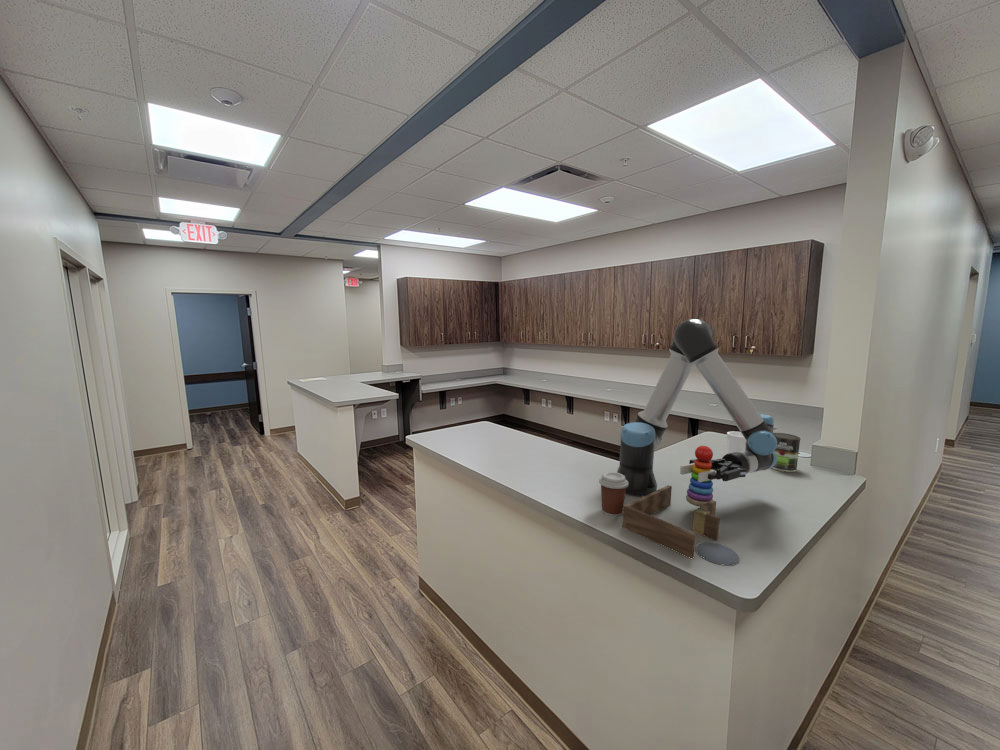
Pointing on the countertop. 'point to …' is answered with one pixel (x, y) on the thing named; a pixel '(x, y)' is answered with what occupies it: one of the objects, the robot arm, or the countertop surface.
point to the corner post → (700, 521)
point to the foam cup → (735, 442)
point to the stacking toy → (697, 490)
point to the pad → (717, 553)
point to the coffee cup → (613, 493)
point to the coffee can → (786, 452)
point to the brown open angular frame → (662, 531)
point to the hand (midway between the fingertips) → (690, 473)
